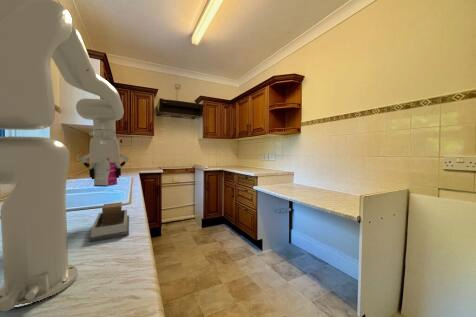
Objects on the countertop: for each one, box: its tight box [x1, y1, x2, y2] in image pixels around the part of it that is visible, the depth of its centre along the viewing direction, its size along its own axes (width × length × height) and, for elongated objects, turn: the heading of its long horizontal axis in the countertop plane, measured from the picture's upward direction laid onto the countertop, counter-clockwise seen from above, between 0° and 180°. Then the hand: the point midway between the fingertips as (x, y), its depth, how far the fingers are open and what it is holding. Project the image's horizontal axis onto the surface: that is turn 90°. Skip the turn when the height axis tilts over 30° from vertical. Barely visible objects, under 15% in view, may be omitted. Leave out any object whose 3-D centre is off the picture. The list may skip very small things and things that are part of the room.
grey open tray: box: [88, 201, 130, 243], centre depth 73 cm, size 18×11×8 cm, turn 28°
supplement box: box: [93, 158, 118, 188], centre depth 82 cm, size 6×6×12 cm
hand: (105, 178), depth 82 cm, fingers closed on supplement box, 8 cm apart
